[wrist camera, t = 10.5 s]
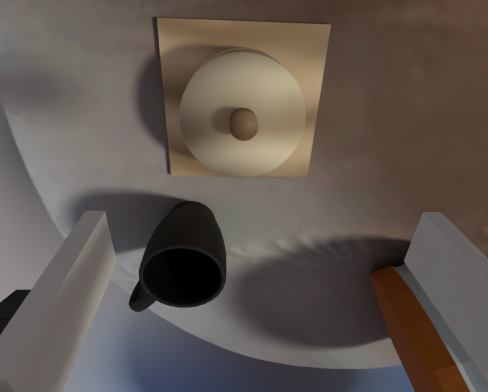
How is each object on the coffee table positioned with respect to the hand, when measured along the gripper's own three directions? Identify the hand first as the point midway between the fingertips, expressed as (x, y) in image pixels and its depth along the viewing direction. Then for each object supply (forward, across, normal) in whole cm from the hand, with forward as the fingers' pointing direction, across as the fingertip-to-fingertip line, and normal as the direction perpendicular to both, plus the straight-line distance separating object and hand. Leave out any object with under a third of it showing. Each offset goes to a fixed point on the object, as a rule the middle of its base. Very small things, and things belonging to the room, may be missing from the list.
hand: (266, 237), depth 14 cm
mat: (+21, 0, 0) cm, 21 cm away
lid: (+20, 0, 0) cm, 20 cm away
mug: (+21, -7, -15) cm, 27 cm away
